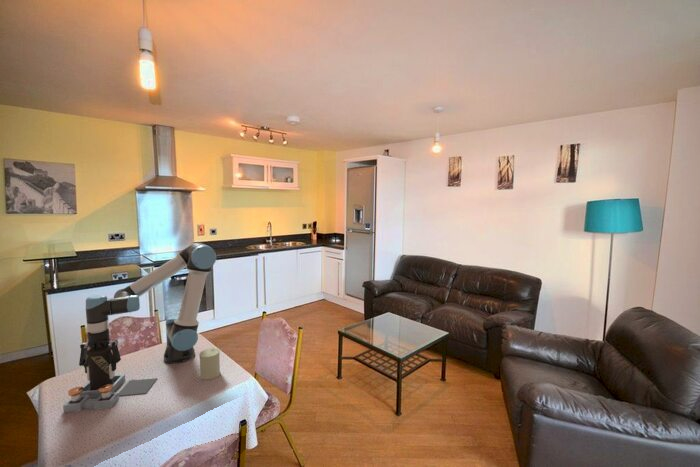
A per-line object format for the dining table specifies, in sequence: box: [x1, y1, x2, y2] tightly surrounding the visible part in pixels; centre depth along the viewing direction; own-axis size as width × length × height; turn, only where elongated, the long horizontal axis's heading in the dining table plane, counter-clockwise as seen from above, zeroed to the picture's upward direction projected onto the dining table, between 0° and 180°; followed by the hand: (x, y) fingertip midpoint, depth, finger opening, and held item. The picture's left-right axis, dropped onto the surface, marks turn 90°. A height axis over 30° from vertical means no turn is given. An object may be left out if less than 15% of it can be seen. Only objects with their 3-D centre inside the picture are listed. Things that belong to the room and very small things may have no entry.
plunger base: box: [62, 391, 120, 413], centre depth 131 cm, size 17×6×3 cm, turn 101°
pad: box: [118, 377, 158, 397], centre depth 144 cm, size 12×12×1 cm
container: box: [86, 344, 114, 391], centre depth 141 cm, size 9×9×20 cm
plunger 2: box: [99, 384, 113, 401], centre depth 132 cm, size 5×5×6 cm
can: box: [199, 347, 221, 381], centre depth 155 cm, size 9×9×12 cm
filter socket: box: [81, 373, 126, 399], centre depth 142 cm, size 13×13×3 cm
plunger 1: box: [67, 386, 84, 403], centre depth 129 cm, size 5×5×6 cm
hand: (101, 378), depth 142 cm, fingers closed on container, 8 cm apart
